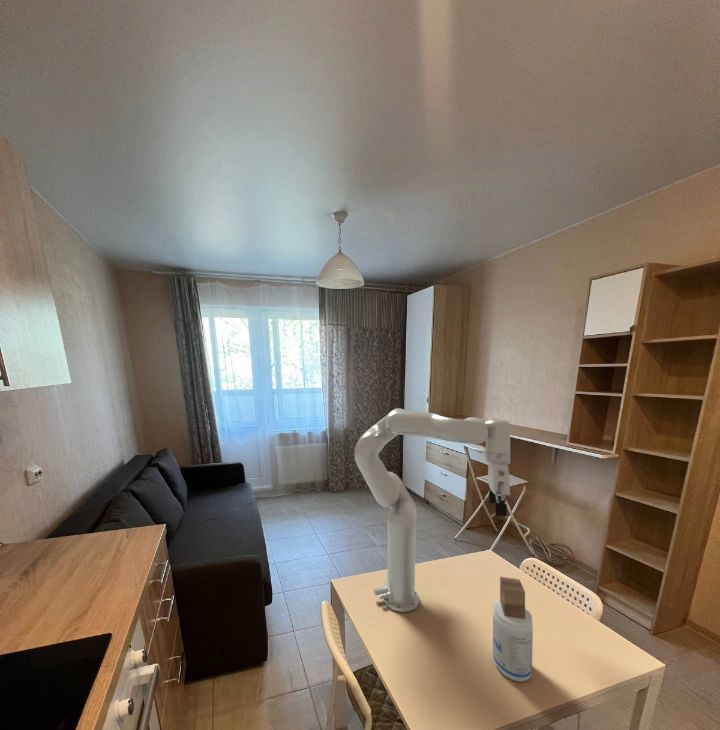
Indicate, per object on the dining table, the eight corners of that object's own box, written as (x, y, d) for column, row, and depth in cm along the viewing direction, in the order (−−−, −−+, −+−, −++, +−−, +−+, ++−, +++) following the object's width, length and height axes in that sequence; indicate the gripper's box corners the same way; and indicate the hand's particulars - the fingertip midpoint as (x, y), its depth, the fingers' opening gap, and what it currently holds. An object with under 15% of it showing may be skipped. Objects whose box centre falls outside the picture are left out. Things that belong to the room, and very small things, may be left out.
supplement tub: (486, 651, 87) (486, 598, 87) (517, 649, 87) (517, 596, 88) (505, 686, 77) (506, 626, 77) (541, 683, 78) (540, 623, 78)
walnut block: (525, 619, 80) (525, 591, 80) (504, 615, 81) (504, 588, 81) (519, 605, 85) (519, 579, 85) (500, 602, 86) (500, 576, 86)
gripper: (517, 465, 92) (517, 522, 92) (503, 451, 109) (503, 500, 109) (490, 463, 94) (490, 519, 93) (481, 450, 111) (481, 497, 110)
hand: (497, 509), depth 101 cm, fingers open, 9 cm apart
